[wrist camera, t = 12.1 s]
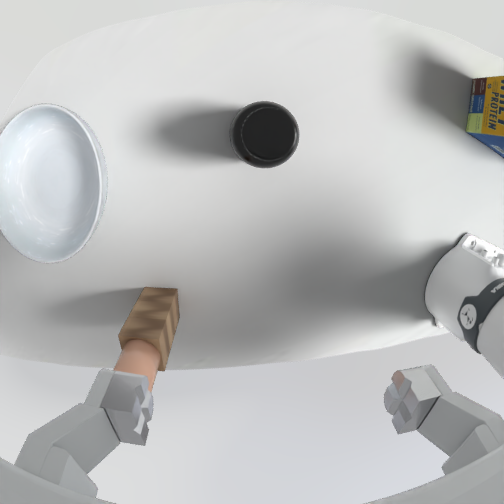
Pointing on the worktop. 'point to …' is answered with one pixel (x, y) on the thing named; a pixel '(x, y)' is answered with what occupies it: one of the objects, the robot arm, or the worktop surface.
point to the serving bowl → (50, 183)
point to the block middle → (156, 314)
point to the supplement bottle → (264, 134)
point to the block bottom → (162, 299)
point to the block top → (147, 335)
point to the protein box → (487, 112)
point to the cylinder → (139, 360)
